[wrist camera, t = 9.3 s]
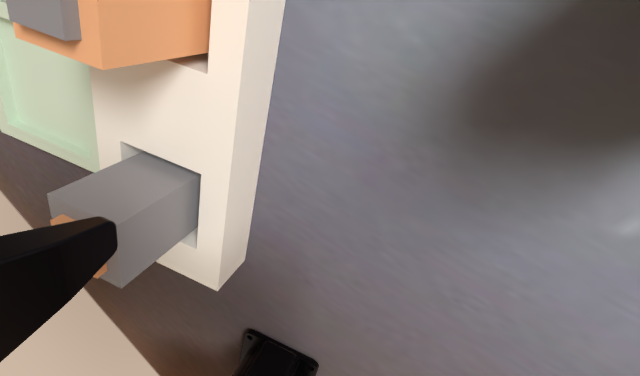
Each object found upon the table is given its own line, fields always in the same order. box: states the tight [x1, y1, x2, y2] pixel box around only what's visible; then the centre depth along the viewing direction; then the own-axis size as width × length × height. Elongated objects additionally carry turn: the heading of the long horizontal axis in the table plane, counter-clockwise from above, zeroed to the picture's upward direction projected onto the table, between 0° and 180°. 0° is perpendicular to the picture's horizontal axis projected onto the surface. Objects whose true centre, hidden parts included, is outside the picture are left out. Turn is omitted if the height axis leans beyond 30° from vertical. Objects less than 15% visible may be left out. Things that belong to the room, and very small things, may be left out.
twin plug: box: [47, 151, 201, 289], centre depth 20 cm, size 4×4×9 cm
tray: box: [0, 0, 100, 173], centre depth 25 cm, size 10×10×1 cm
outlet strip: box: [89, 0, 286, 291], centre depth 20 cm, size 22×9×4 cm, turn 166°
